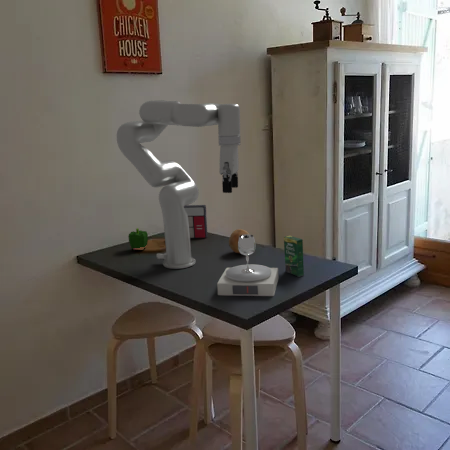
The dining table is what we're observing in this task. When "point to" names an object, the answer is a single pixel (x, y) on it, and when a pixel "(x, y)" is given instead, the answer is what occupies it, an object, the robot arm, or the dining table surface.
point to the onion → (236, 239)
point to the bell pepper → (138, 239)
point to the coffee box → (294, 255)
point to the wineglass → (246, 248)
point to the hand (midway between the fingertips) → (230, 190)
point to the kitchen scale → (248, 281)
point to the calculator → (197, 220)
